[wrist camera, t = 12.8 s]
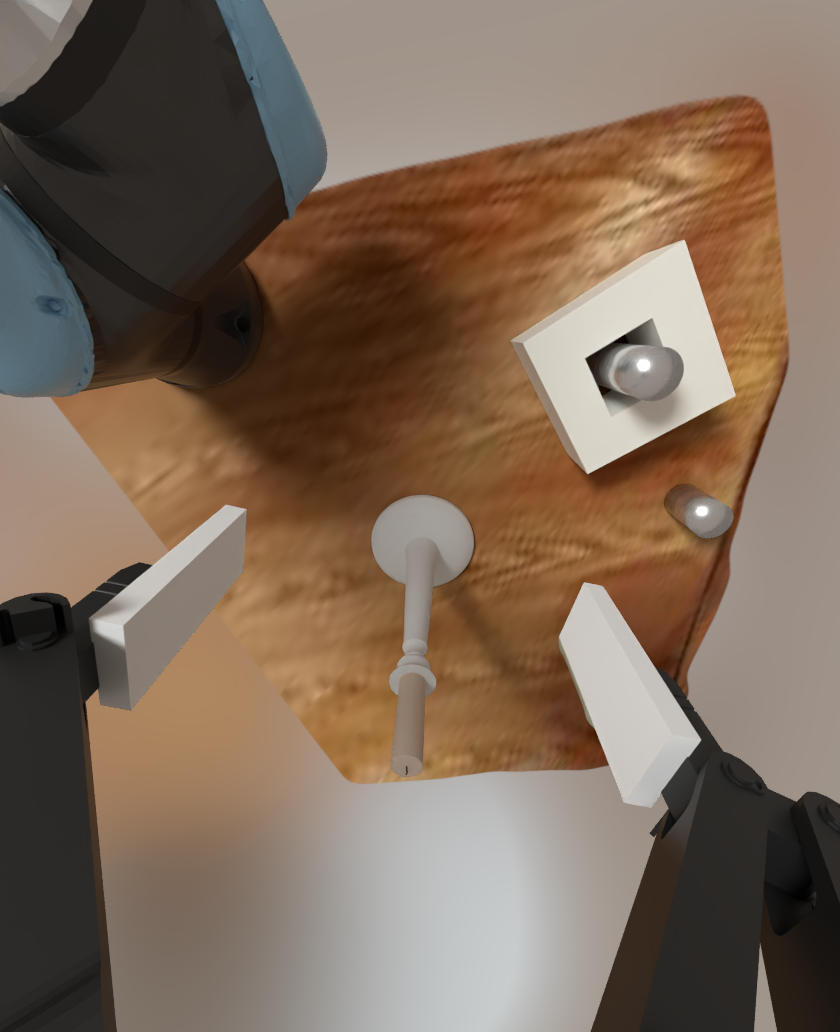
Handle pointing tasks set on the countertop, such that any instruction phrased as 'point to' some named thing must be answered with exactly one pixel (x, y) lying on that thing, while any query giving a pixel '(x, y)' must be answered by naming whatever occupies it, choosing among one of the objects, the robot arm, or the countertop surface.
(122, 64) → the robot arm
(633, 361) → the long pin
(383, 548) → the candlestick
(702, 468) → the countertop surface
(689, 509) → the short pin
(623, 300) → the hole block
